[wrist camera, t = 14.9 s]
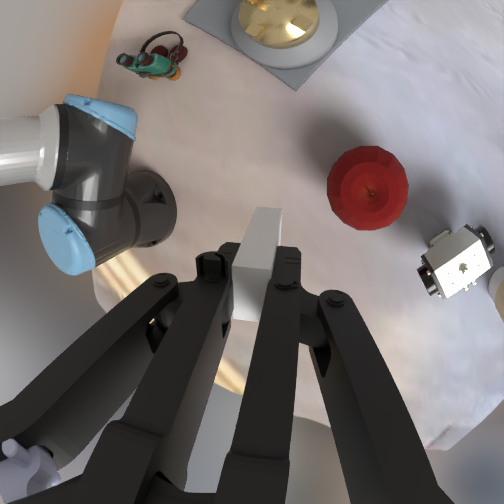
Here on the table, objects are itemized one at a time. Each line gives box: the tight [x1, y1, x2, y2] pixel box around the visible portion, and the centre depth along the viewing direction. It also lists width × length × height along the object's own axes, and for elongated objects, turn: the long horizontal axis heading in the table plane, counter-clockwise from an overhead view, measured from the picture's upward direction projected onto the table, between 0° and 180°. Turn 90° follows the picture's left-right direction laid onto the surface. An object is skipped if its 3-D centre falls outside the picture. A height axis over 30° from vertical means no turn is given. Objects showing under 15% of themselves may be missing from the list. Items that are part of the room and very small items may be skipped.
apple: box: [327, 146, 409, 230], centre depth 34 cm, size 11×11×12 cm
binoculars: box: [116, 31, 188, 80], centre depth 37 cm, size 9×11×10 cm
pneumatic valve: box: [417, 224, 495, 300], centre depth 33 cm, size 6×12×12 cm, turn 131°
